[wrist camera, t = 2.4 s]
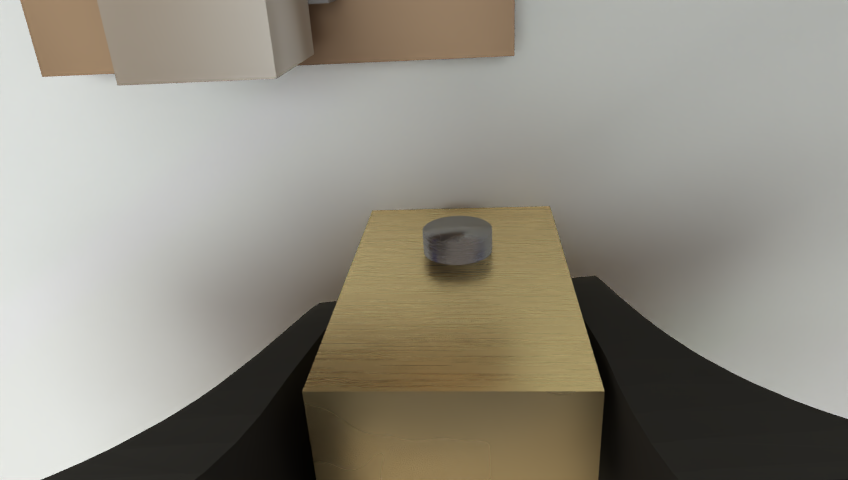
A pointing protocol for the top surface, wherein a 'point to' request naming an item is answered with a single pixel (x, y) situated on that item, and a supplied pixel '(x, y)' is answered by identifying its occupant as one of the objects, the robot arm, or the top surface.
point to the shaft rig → (256, 35)
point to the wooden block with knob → (456, 355)
